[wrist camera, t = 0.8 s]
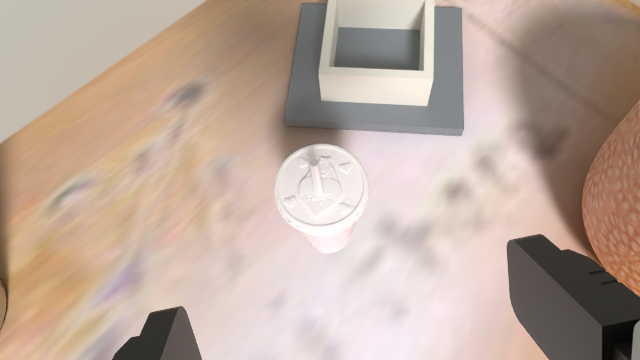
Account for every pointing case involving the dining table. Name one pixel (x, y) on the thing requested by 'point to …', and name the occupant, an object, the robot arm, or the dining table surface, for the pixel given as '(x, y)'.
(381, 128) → the socket board
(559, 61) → the dining table surface
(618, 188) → the planter
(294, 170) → the smoothie
